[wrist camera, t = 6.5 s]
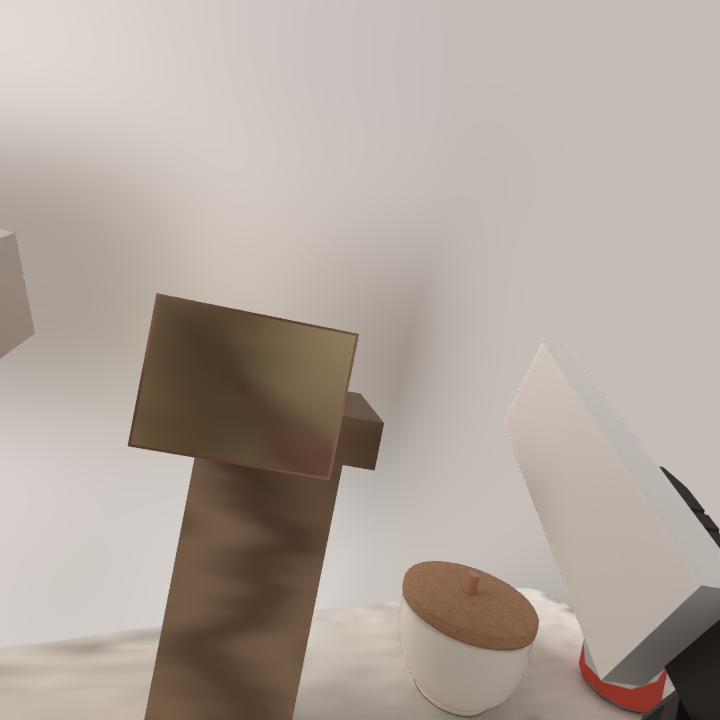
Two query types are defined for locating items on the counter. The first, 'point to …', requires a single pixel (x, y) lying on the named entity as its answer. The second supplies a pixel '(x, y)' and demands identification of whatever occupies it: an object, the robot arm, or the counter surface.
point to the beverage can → (622, 687)
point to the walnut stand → (249, 583)
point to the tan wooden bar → (242, 388)
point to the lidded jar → (464, 636)
